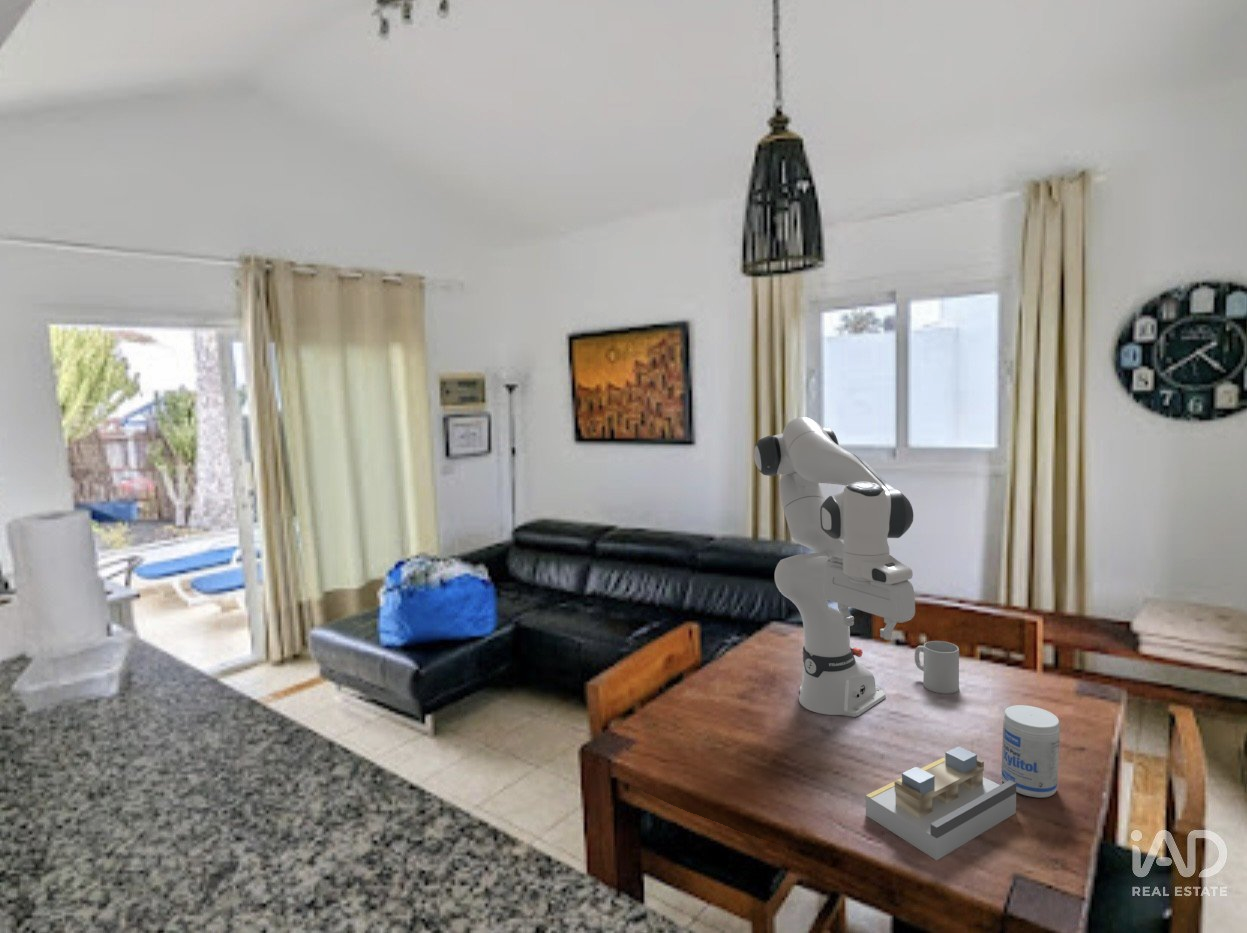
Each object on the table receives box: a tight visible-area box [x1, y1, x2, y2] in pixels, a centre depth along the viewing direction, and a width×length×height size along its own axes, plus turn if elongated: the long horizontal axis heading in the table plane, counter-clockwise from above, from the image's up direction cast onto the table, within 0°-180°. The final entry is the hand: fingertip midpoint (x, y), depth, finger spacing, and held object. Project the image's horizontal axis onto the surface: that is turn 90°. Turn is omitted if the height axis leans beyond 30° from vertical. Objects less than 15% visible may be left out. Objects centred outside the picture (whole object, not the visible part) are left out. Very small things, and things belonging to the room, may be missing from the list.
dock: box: [865, 757, 1017, 861], centre depth 129 cm, size 23×15×6 cm, turn 120°
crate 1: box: [901, 766, 935, 796], centre depth 125 cm, size 4×4×2 cm
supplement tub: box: [1000, 704, 1061, 799], centre depth 136 cm, size 10×10×15 cm
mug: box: [914, 640, 960, 695], centre depth 182 cm, size 12×8×11 cm
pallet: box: [894, 757, 985, 818], centre depth 129 cm, size 19×5×4 cm, turn 120°
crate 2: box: [944, 745, 978, 774], centre depth 131 cm, size 4×4×2 cm
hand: (866, 631), depth 139 cm, fingers open, 8 cm apart
